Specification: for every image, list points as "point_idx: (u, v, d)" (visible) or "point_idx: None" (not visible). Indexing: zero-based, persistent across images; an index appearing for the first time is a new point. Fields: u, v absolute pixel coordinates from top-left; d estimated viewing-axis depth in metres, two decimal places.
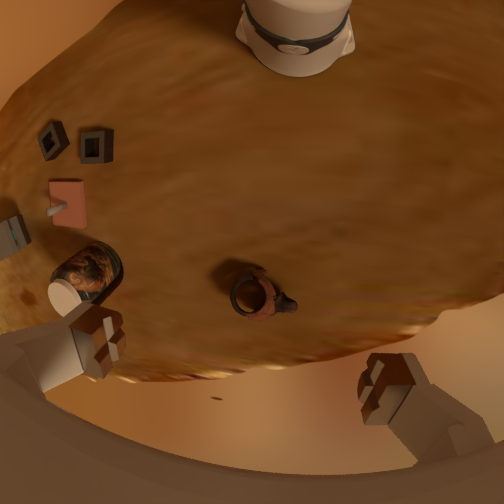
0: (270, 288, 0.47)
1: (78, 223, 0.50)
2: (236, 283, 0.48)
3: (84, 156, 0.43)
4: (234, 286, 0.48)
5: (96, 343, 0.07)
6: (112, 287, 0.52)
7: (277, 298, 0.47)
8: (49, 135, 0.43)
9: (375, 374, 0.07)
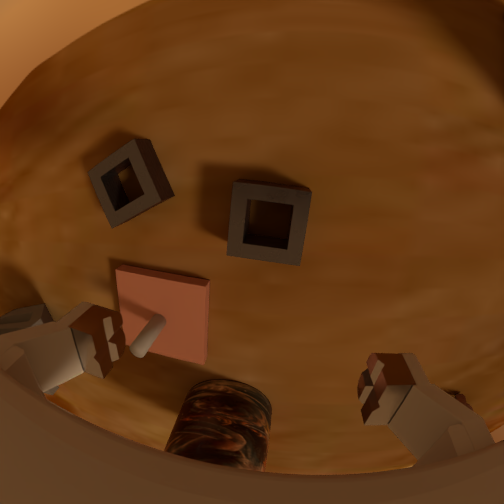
0: None
1: (192, 355, 0.29)
2: None
3: (240, 240, 0.22)
4: None
5: (96, 343, 0.07)
6: None
7: None
8: (119, 168, 0.23)
9: (375, 374, 0.07)
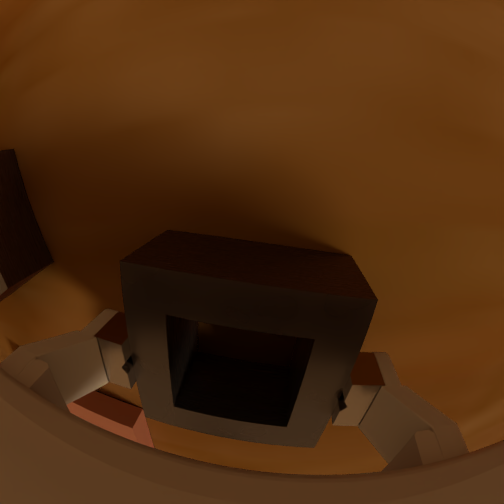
0: None
1: None
2: None
3: (168, 400, 0.08)
4: None
5: (125, 352, 0.07)
6: None
7: None
8: None
9: None
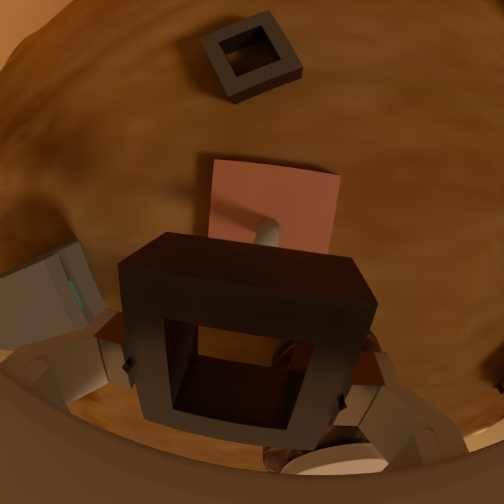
0: None
1: None
2: None
3: (167, 403, 0.08)
4: None
5: (125, 352, 0.07)
6: None
7: None
8: (238, 41, 0.18)
9: None
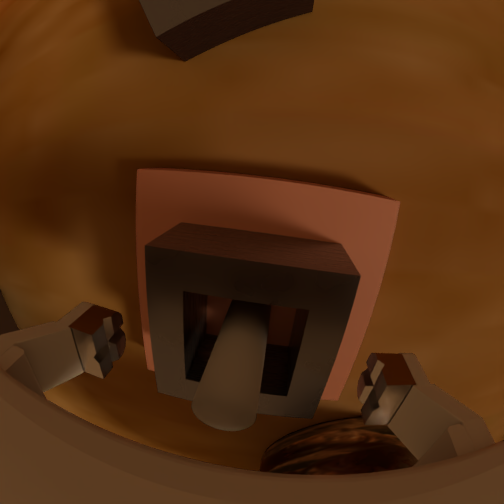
0: None
1: None
2: None
3: (181, 373, 0.09)
4: None
5: (96, 343, 0.07)
6: None
7: None
8: None
9: (375, 374, 0.07)
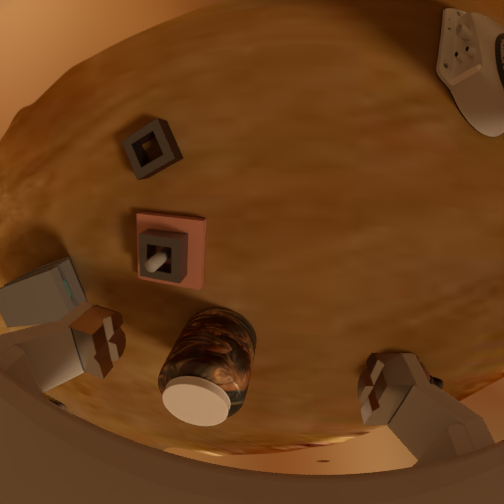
0: (427, 374, 0.36)
1: (191, 281, 0.39)
2: None
3: None
4: None
5: (96, 343, 0.07)
6: None
7: (431, 382, 0.36)
8: (144, 139, 0.33)
9: (375, 374, 0.07)
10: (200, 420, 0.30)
